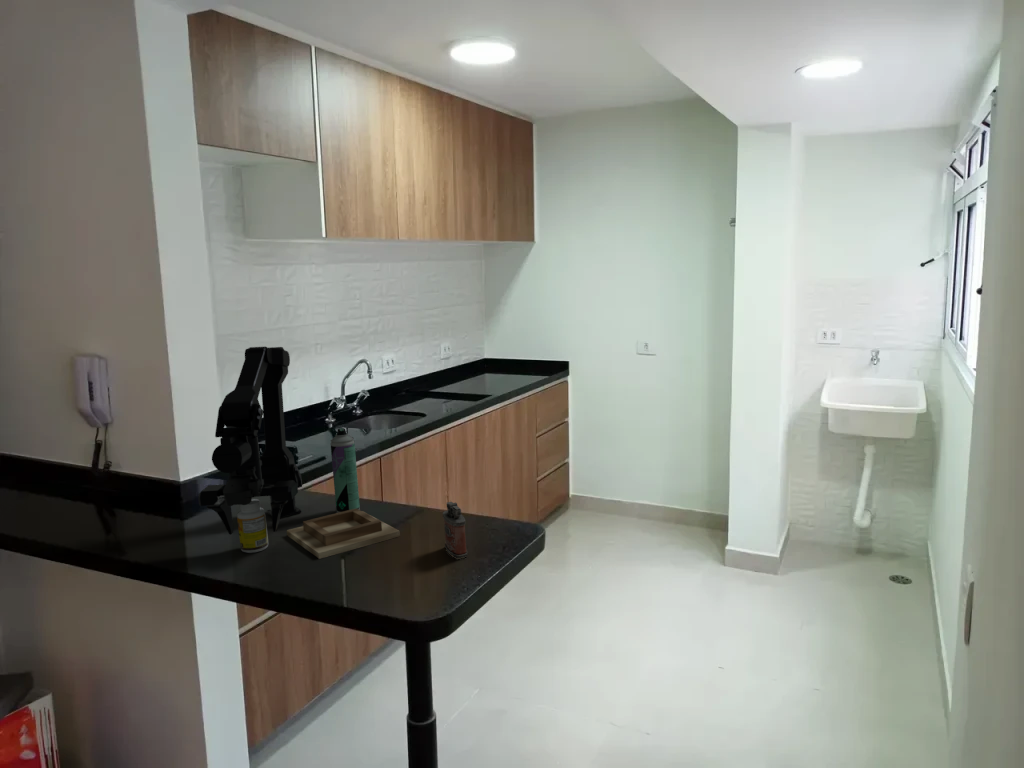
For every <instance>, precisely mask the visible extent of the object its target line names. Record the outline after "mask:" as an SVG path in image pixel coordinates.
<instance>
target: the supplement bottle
mask: <svg viewBox="0 0 1024 768" xmlns="http://www.w3.org/2000/svg"><path fill="white" fill-rule="evenodd" d="M236 518H237V520H236V521H237V527H238V528H237V530H238V536H239V546H240V550H241V551H242V552H243V553H246V554H254V553H260V552H262V551H264V550H266V549H267V548H268V547H269V535H268V526H267V518H266V511H265V509H264V508H263V507H261V500H259V499H257V498H252V499H251V502H250V503H249V504H247V505H239V511H238V512H237V514H236Z"/></svg>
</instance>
